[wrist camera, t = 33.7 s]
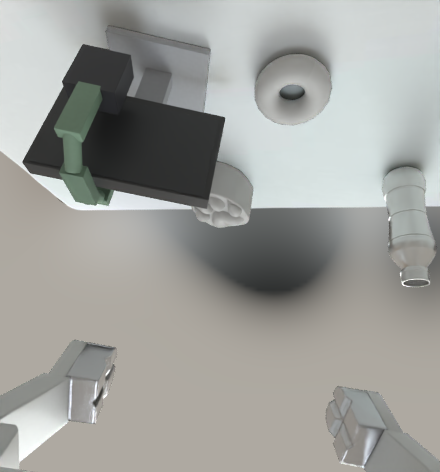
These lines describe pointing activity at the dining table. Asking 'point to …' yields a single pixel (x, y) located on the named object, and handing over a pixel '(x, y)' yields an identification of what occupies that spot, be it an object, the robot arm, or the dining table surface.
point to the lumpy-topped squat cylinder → (227, 198)
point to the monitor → (146, 126)
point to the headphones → (90, 113)
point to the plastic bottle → (409, 225)
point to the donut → (293, 73)
